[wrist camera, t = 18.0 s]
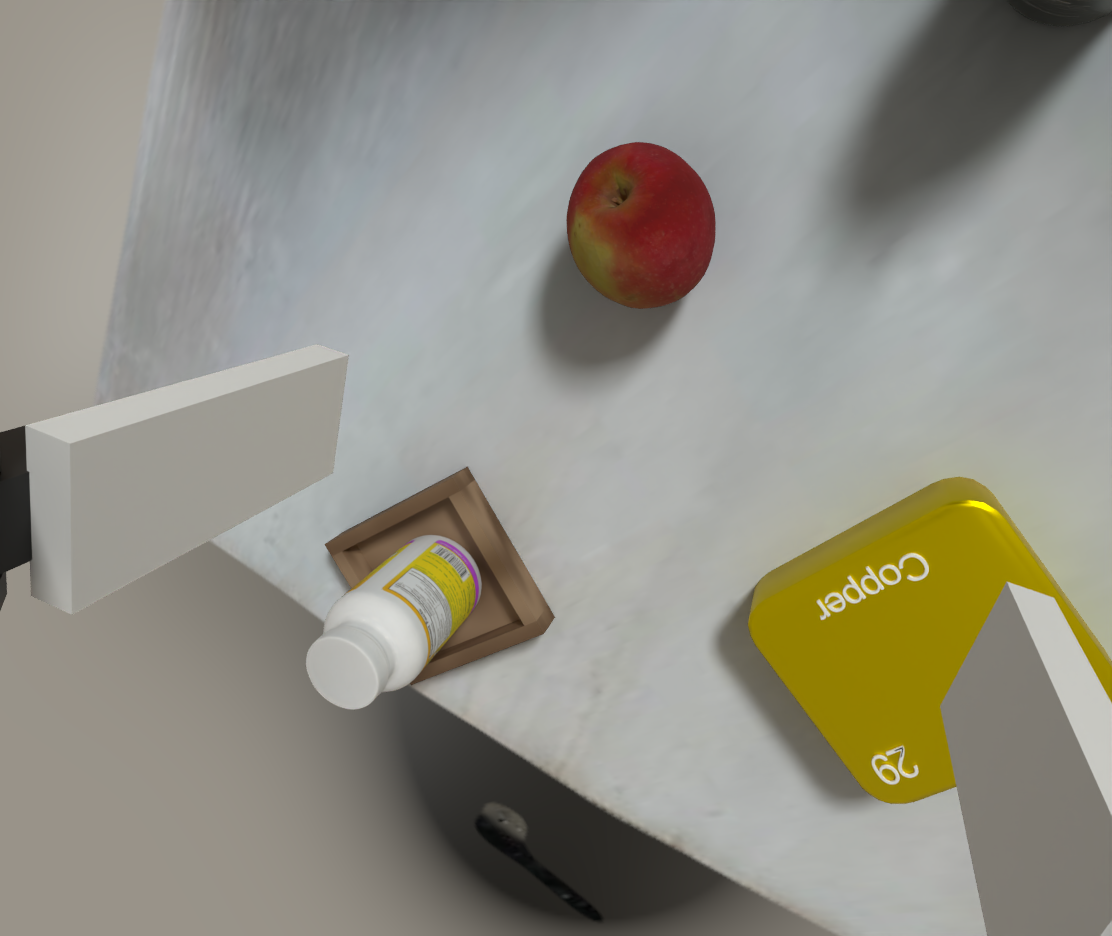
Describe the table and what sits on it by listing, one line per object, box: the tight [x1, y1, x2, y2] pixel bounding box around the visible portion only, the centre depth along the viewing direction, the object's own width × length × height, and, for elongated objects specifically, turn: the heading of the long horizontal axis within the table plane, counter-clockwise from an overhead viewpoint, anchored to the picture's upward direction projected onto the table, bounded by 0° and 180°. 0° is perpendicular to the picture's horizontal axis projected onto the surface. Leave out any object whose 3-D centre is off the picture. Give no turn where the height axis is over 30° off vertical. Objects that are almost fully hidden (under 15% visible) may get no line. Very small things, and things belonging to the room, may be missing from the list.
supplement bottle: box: [306, 535, 482, 710], centre depth 50 cm, size 7×7×13 cm
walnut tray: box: [325, 467, 555, 685], centre depth 55 cm, size 12×12×2 cm
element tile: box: [748, 477, 1112, 804], centre depth 45 cm, size 15×15×5 cm
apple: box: [567, 142, 715, 309], centre depth 41 cm, size 8×8×8 cm
